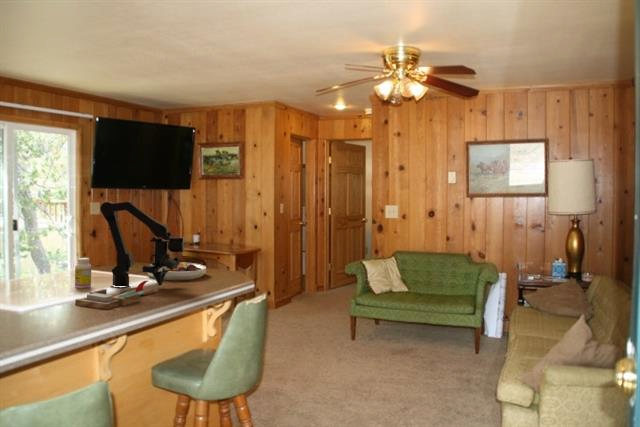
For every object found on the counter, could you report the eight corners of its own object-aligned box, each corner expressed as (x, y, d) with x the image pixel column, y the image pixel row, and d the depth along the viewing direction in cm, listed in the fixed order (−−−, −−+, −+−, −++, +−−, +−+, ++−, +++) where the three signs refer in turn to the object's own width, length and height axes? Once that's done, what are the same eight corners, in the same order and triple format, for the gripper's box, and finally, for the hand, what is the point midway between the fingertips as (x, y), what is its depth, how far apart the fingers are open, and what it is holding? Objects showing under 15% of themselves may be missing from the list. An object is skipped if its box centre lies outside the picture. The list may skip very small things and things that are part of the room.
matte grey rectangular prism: (104, 307, 198) (105, 297, 198) (86, 304, 201) (87, 294, 201) (112, 305, 202) (112, 295, 202) (94, 302, 205) (95, 292, 205)
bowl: (133, 275, 266) (134, 260, 266) (180, 269, 291) (180, 255, 290) (171, 284, 249) (172, 268, 249) (217, 277, 273) (218, 262, 273)
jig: (72, 304, 200) (72, 296, 200) (103, 296, 216) (103, 288, 216) (110, 309, 194) (110, 301, 194) (139, 301, 211) (139, 293, 210)
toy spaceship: (131, 309, 204) (131, 296, 204) (103, 307, 206) (103, 294, 205) (159, 291, 232) (159, 279, 231) (135, 289, 233) (135, 278, 232)
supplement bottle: (72, 286, 232) (73, 257, 232) (88, 285, 237) (88, 257, 236) (77, 289, 227) (77, 259, 226) (92, 287, 232) (93, 259, 231)
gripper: (162, 255, 225) (161, 290, 226) (187, 251, 243) (186, 283, 244) (141, 253, 229) (140, 288, 230) (167, 249, 247) (166, 281, 248)
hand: (159, 285), depth 238 cm, fingers closed
